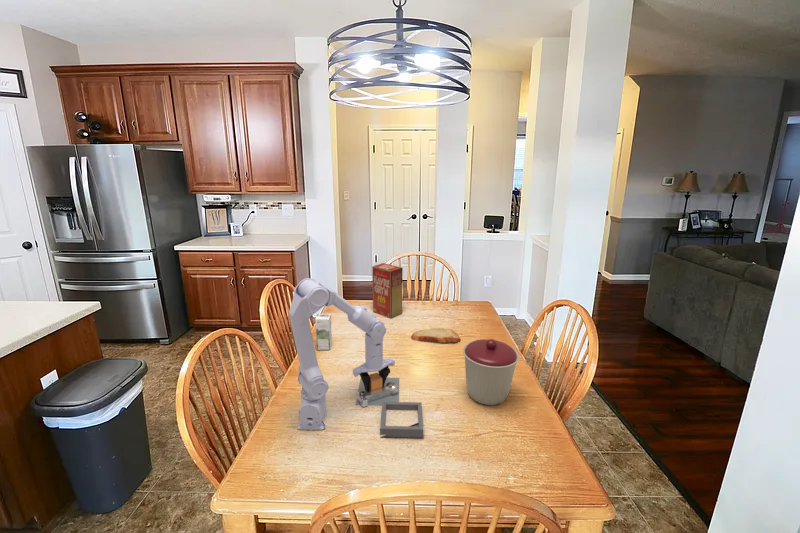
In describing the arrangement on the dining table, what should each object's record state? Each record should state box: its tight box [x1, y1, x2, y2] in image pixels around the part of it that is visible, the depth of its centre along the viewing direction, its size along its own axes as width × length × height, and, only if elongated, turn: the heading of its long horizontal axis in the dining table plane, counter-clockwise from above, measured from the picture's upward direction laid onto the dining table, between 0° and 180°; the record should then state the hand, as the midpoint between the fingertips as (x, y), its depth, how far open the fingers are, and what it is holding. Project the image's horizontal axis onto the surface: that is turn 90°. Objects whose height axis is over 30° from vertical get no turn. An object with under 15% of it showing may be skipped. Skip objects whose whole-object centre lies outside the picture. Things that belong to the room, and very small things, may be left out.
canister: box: [462, 338, 520, 406], centre depth 127 cm, size 18×18×21 cm
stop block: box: [369, 372, 382, 392], centre depth 128 cm, size 4×4×6 cm
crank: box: [356, 383, 398, 408], centre depth 126 cm, size 14×5×4 cm, turn 119°
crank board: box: [355, 377, 400, 407], centre depth 130 cm, size 16×14×2 cm
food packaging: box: [371, 262, 404, 319], centre depth 194 cm, size 13×9×25 cm
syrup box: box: [314, 313, 333, 351], centre depth 159 cm, size 6×6×14 cm
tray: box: [379, 401, 424, 440], centre depth 115 cm, size 12×12×3 cm
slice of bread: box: [410, 327, 461, 344], centre depth 170 cm, size 18×18×4 cm
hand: (374, 388), depth 129 cm, fingers open, 5 cm apart
